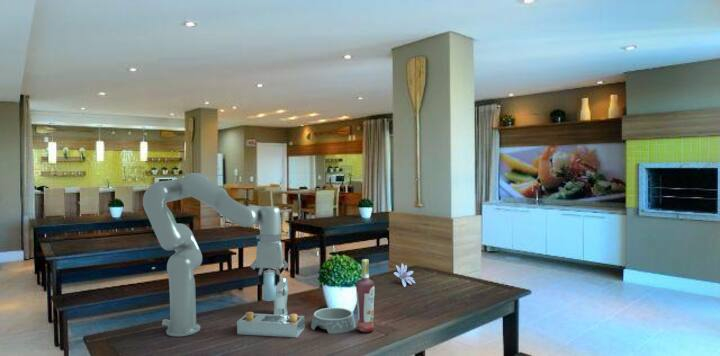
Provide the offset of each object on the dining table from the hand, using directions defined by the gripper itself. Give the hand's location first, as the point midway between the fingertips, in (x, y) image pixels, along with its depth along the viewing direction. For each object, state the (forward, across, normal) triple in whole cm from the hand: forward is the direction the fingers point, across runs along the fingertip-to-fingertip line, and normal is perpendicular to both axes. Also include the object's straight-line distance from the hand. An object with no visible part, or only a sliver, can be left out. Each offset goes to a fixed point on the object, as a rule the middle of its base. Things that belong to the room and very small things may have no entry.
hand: (269, 283), depth 185 cm
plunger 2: (+17, +10, -2) cm, 19 cm away
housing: (+19, +1, 0) cm, 19 cm away
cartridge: (+6, 0, 0) cm, 6 cm away
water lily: (+18, +66, +63) cm, 93 cm away
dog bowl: (+19, +26, +4) cm, 32 cm away
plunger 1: (+17, -8, +2) cm, 19 cm away
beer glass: (+19, +3, +21) cm, 29 cm away
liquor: (+18, +38, -4) cm, 42 cm away
